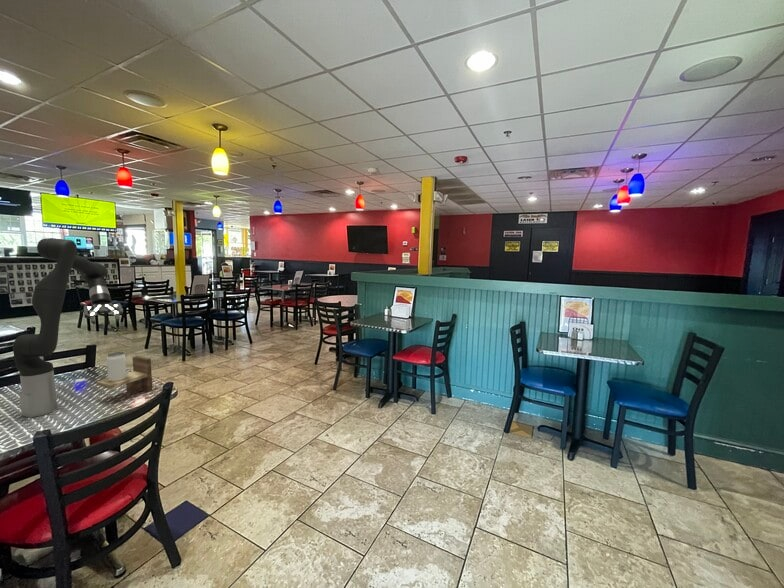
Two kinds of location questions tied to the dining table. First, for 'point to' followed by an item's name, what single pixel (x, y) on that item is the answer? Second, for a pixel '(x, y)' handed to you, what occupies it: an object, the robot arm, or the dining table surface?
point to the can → (116, 366)
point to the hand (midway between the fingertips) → (106, 322)
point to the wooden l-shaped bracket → (134, 377)
